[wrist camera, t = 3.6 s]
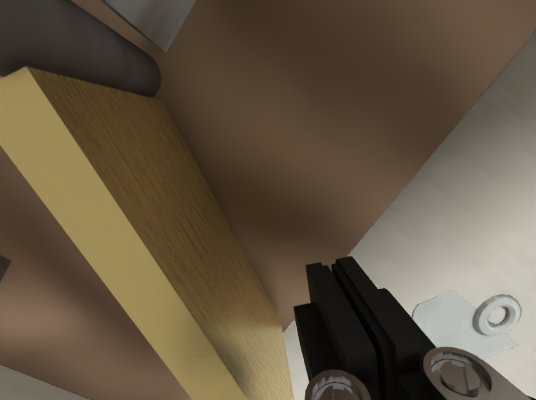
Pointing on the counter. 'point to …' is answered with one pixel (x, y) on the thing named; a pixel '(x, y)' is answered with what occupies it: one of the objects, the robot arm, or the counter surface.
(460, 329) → the mounting bracket
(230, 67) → the hinge base
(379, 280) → the counter surface
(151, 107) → the bar
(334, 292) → the robot arm
